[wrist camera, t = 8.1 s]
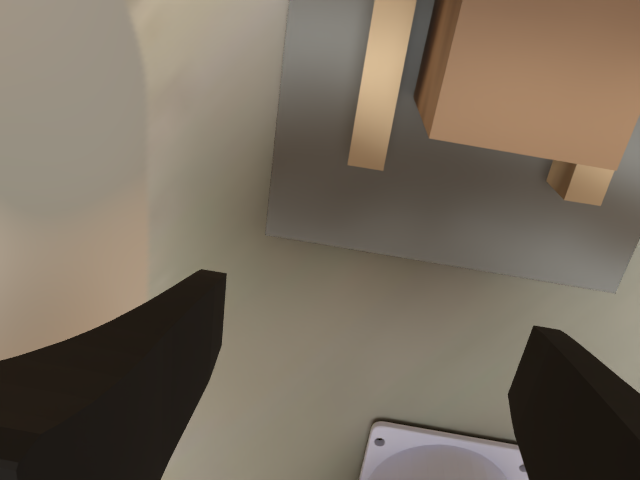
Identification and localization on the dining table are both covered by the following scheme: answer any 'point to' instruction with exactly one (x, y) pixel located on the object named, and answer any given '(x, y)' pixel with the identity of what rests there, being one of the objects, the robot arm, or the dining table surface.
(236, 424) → the dining table surface
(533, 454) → the robot arm
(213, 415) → the dining table surface
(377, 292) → the dining table surface
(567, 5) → the cabinet block
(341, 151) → the cradle
